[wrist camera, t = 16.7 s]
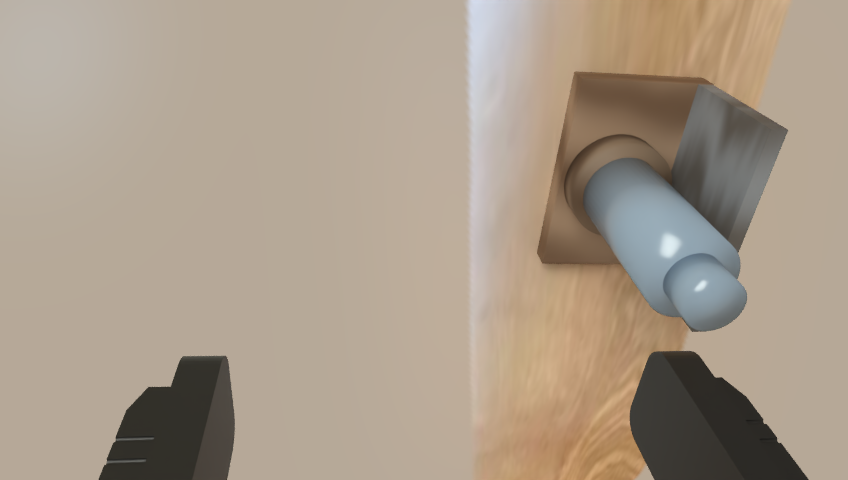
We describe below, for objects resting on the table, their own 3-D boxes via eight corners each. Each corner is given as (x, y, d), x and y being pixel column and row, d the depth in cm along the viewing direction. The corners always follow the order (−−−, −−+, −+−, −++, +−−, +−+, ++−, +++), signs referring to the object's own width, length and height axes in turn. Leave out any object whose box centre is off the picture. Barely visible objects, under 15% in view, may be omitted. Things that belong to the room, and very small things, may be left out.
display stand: (574, 71, 40) (632, 123, 32) (702, 78, 41) (789, 130, 33) (537, 252, 47) (576, 332, 39) (647, 253, 48) (707, 331, 40)
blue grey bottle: (592, 156, 39) (682, 262, 29) (667, 158, 40) (782, 262, 30) (575, 226, 42) (652, 346, 32) (647, 227, 43) (745, 345, 32)
